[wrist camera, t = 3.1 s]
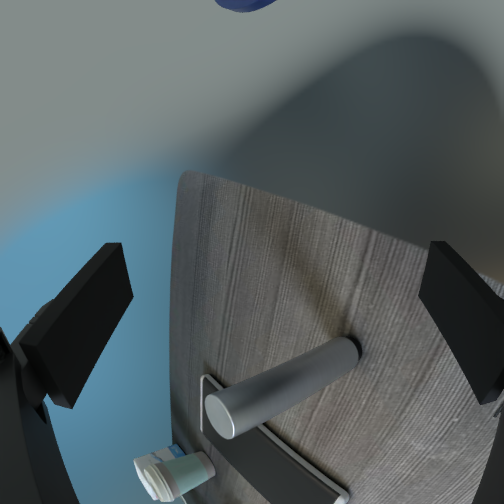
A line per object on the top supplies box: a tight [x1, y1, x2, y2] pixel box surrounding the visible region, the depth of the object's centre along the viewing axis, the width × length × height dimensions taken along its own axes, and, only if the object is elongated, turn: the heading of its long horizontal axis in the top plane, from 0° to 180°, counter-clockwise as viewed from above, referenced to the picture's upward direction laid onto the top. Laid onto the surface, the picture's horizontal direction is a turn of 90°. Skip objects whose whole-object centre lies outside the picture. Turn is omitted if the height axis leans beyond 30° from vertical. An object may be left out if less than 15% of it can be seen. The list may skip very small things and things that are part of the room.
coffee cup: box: [144, 451, 215, 502], centre depth 49 cm, size 8×9×12 cm
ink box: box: [133, 444, 186, 500], centre depth 58 cm, size 9×8×12 cm
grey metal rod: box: [205, 336, 362, 439], centre depth 21 cm, size 3×3×13 cm
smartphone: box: [201, 374, 349, 504], centre depth 36 cm, size 13×27×2 cm, turn 82°
